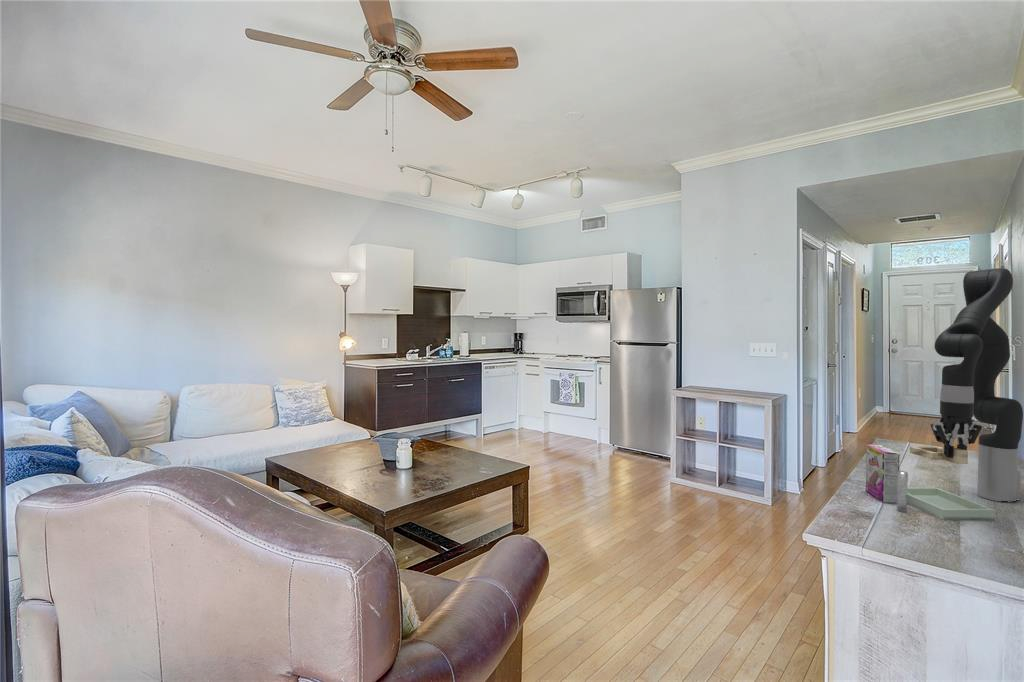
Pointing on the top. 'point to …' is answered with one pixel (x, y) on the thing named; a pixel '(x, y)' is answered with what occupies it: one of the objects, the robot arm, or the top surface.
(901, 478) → the steel post
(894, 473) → the candy bar box
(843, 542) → the top surface
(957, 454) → the wooden frame with handle
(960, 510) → the tray
